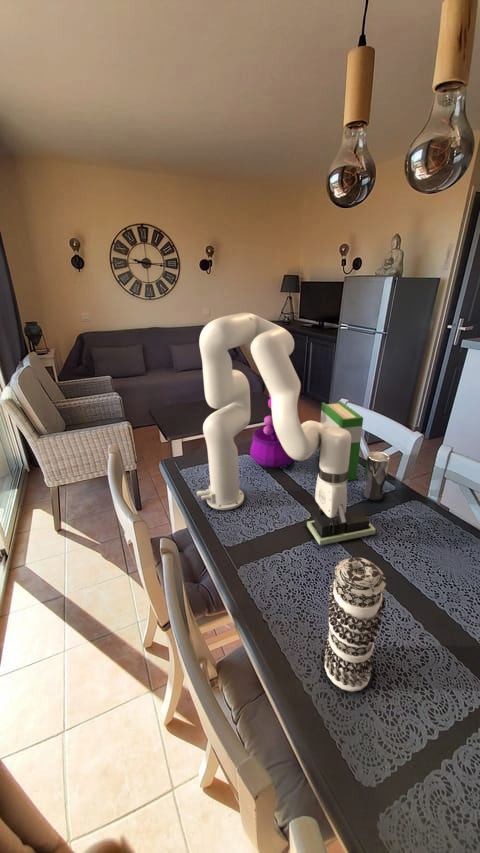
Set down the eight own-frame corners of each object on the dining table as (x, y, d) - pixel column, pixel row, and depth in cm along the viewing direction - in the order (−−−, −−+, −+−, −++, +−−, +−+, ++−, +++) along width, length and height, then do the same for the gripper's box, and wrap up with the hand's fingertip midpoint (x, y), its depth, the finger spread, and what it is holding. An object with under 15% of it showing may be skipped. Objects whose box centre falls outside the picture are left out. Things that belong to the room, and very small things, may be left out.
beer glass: (385, 502, 117) (392, 462, 111) (363, 500, 118) (368, 460, 112) (382, 491, 123) (388, 452, 117) (361, 489, 124) (365, 450, 118)
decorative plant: (245, 454, 151) (243, 385, 139) (287, 448, 155) (288, 380, 143) (258, 477, 134) (257, 400, 122) (304, 469, 138) (308, 395, 126)
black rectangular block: (321, 537, 101) (322, 527, 99) (314, 526, 105) (314, 516, 104) (344, 532, 102) (345, 522, 101) (335, 521, 106) (336, 511, 105)
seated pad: (346, 534, 103) (347, 524, 101) (337, 523, 107) (338, 514, 106) (368, 530, 104) (369, 520, 103) (359, 519, 109) (360, 510, 107)
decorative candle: (340, 636, 75) (351, 541, 65) (381, 669, 69) (401, 569, 59) (312, 665, 70) (320, 566, 60) (354, 705, 63) (371, 601, 53)
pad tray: (319, 546, 99) (320, 540, 99) (306, 527, 107) (307, 521, 106) (375, 535, 103) (375, 529, 102) (358, 516, 111) (359, 511, 110)
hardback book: (318, 458, 145) (321, 402, 136) (335, 456, 146) (340, 400, 137) (337, 481, 129) (342, 419, 120) (356, 479, 130) (363, 417, 121)
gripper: (307, 460, 103) (304, 512, 110) (335, 492, 88) (330, 550, 95) (331, 456, 105) (327, 508, 112) (363, 487, 89) (356, 545, 97)
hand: (329, 527), depth 103 cm, fingers closed on black rectangular block, 5 cm apart
